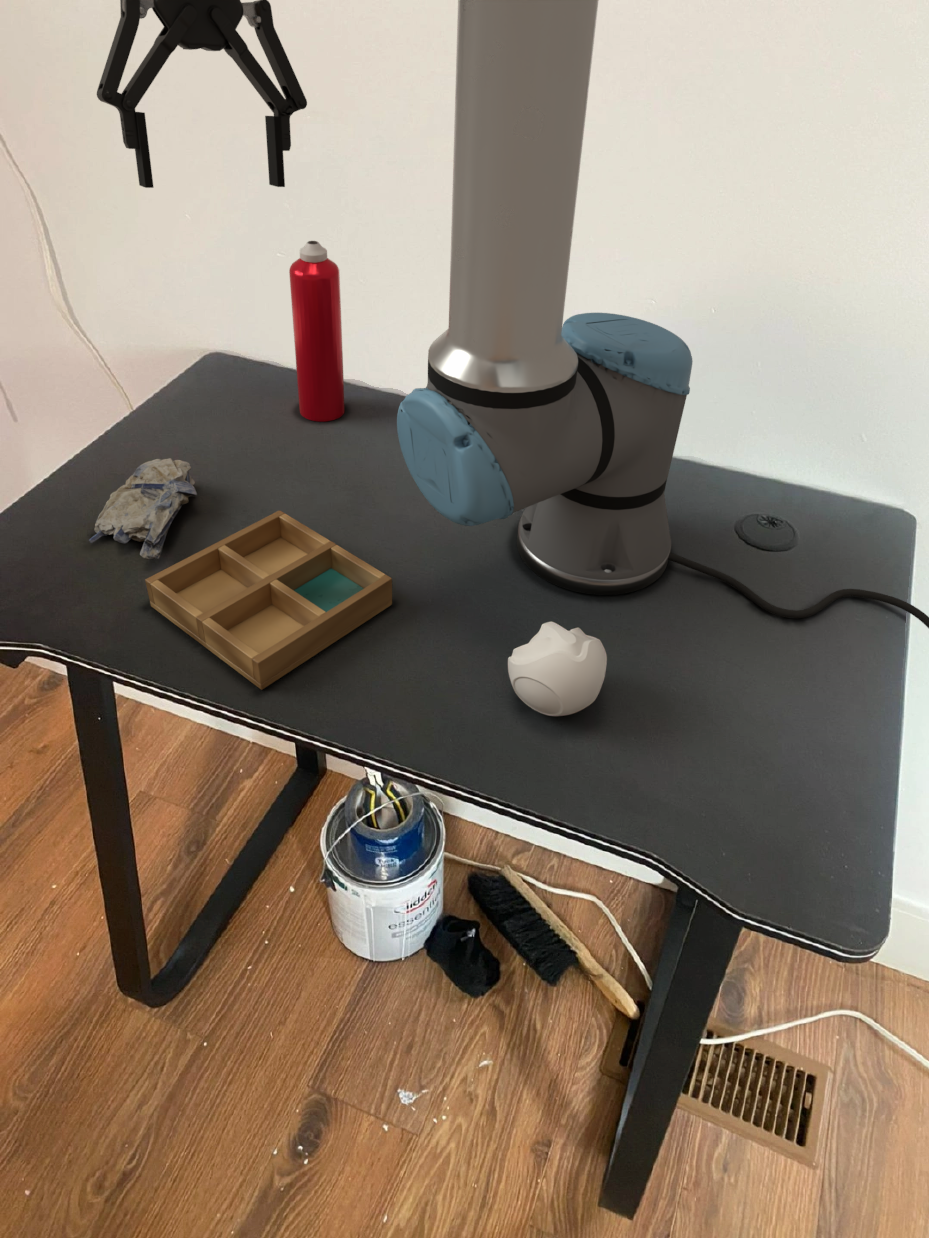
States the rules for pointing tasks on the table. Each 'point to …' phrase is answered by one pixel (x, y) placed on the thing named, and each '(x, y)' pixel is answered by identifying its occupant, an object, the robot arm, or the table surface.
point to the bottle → (317, 334)
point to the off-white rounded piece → (558, 670)
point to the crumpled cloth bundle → (147, 505)
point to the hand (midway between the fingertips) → (213, 186)
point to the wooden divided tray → (269, 596)
